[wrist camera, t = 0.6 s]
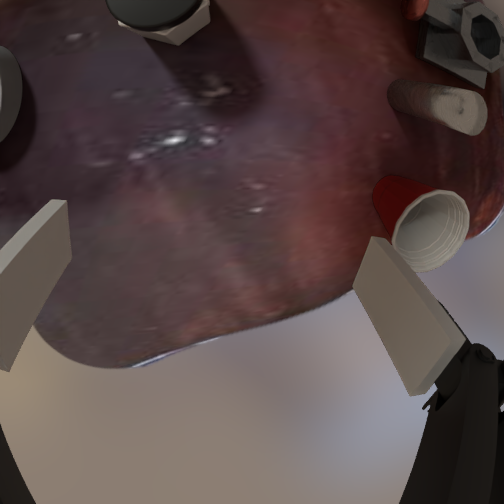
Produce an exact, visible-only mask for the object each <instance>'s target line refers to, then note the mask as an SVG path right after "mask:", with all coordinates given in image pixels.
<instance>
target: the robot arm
mask: <svg viewBox="0 0 504 504" xmlns="http://www.w3.org/2000/svg"><path fill="white" fill-rule="evenodd" d="M71 259H72V252H71V244H70V234H69V223H68V209H67V201H66V200H51V201H49V202H48V203H47V204H46V205H45V206H44V207H43V208H42V209H41V210H40V211H39V212H38V213H37V214H35V215H34V216H33V217H32V218H31V219H30V220H29V221H28V222H27V223H26V224H25V225H24V226H23V227H22V228H21V229H20V230H19V231H18V232H17V233H16V234H15V235H14V236H13V237H12V238H11V239H10V240H9V242H8V243H7V244H6V245H5V246H4V247H3V248H2V249H1V250H0V369H1V370H4V371H7V372H9V371H10V369H11V367H12V365H13V363H14V360H15V358H16V356H17V354H18V352H19V350H20V348H21V346H22V344H23V342H24V340H25V338H26V336H27V334H28V332H29V331H30V329H31V327H32V325H33V323H34V321H35V319H36V317H37V316H38V314H39V312H40V310H41V308H42V307H43V305H44V303H45V301H46V300H47V298H48V296H49V295H50V293H51V291H52V290H53V288H54V286H55V285H56V283H57V281H58V280H59V278H60V276H61V275H62V273H63V272H64V270H65V268H66V267H67V265H68V264H69V262H70V261H71ZM352 287H353V289H354V291H355V292H356V294H357V296H358V298H359V299H360V301H361V303H362V305H363V306H364V308H365V310H366V312H367V314H368V316H369V318H370V319H371V321H372V323H373V325H374V327H375V329H376V331H377V332H378V334H379V336H380V338H381V340H382V342H383V344H384V346H385V348H386V350H387V351H388V354H389V356H390V357H391V359H392V361H393V363H394V365H395V367H396V369H397V371H398V373H399V375H400V377H401V379H402V381H403V383H404V385H405V388H406V390H407V392H408V394H409V396H416V395H421V394H425V393H426V392H427V391H428V390H429V389H430V387H431V386H432V385H433V384H434V383H435V385H436V387H437V388H438V389H437V391H436V392H435V393H434V394H433V395H432V396H431V397H430V399H429V400H428V401H427V402H426V403H425V404H424V406H423V407H422V409H423V410H424V409H425V408H426V407H427V406H428V405H430V409H429V410H428V412H429V413H428V417H427V421H426V425H425V429H424V432H423V436H422V439H421V443H420V446H419V449H418V452H417V456H416V459H415V462H414V465H413V468H412V471H411V473H410V476H409V479H408V482H407V485H406V487H405V490H404V492H403V495H402V497H401V500H400V502H399V504H504V411H503V412H501V409H500V407H501V406H502V405H503V403H504V360H503V361H502V360H497V359H496V357H495V356H494V354H493V353H492V352H491V351H490V350H489V349H488V348H487V347H485V346H484V345H481V344H479V343H474V344H471V343H470V341H469V340H468V338H467V337H466V335H465V334H464V333H463V331H462V330H461V328H460V327H459V326H458V324H457V323H456V322H455V321H454V319H453V318H452V316H451V315H450V314H449V312H448V311H447V310H446V309H445V308H444V306H443V305H442V304H441V303H440V302H439V301H438V300H437V299H436V298H435V297H434V296H433V295H432V293H431V292H430V291H429V289H428V288H427V287H426V286H425V285H424V283H423V282H422V281H421V280H420V278H419V277H418V276H417V275H416V273H415V272H414V271H413V270H412V269H411V267H410V266H409V265H408V264H407V263H406V262H405V260H404V259H403V258H402V257H401V256H400V255H399V253H398V252H397V251H396V250H395V249H394V248H393V246H392V245H391V244H390V243H389V242H388V241H387V240H386V239H385V238H380V237H374V236H371V239H370V242H369V244H368V247H367V250H366V252H365V255H364V258H363V260H362V263H361V265H360V268H359V270H358V273H357V275H356V278H355V280H354V283H353V285H352ZM0 504H36V503H35V501H34V499H33V497H32V495H31V494H30V492H29V490H28V488H27V486H26V484H25V482H24V480H23V477H22V475H21V473H20V471H19V469H18V467H17V465H16V462H15V460H14V458H13V455H12V453H11V451H10V448H9V446H8V443H7V441H6V438H5V436H4V433H3V431H2V428H1V424H0Z"/></svg>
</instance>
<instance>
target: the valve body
mask: <svg viewBox="0 0 504 504" xmlns="http://www.w3.org/2000/svg"><path fill="white" fill-rule="evenodd" d="M401 13H402V15H403V17H404V18H406V19H408V20H411V21H418V20H419V19H421V22H420V29H419V36H418V43H417V50H416V56H415V57H416V58H418V59H421V60H423V61H425V62H427V63H429V64H432V65H434V66H436V67H438V68H440V69H442V70H444V71H446V72H448V73H450V74H452V75H454V76H456V77H457V78H459V79H461V80H463V81H465V82H467V83H468V84H470V85H472V86H474V87H476V88H480V89H484V88H485V82H486V76H487V72H490V73H492V72H494V71H495V70H497V69H498V68H500V67H502V66H503V65H504V29H503V27H502V24H501V22H500V20H499V18H498V16H497V15H496V14H495V13H494V12H492V11H491V10H490V9H488V8H487V7H486V6H484V5H483V4H482V3H480V2H469V3H466V2H465V1H463V0H402V1H401Z"/></svg>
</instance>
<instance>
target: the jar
mask: <svg viewBox="0 0 504 504" xmlns="http://www.w3.org/2000/svg"><path fill="white" fill-rule="evenodd" d="M106 4H107V7H108V9H109V11H110V13H111V14H112V15H113V16H114V17H115V18H116V19H117V20H118V24H119V25H120V26H122V27H124V28H126V29H128V30H130V31H132V32H134V33H136V34H138V35H140V36H142V37H146V38H150V39H154V40H158V41H162V42H166V43H169V44H173V45H177V46H179V45H180V44H182V43H183V42H184V41H185V40H187V39H188V38H189V37H191V36H192V35H193V34H195V33H196V32H197V31H199V30H200V29H201V28H203V27H204V26H205V25H207V24H208V23H210V21H211V19H210V12H209V5H210V1H209V0H106Z"/></svg>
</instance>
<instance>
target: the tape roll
mask: <svg viewBox="0 0 504 504" xmlns="http://www.w3.org/2000/svg"><path fill="white" fill-rule="evenodd" d="M21 99H22V76H21V71H20V68H19V65H18V62H17V60H16V58H15V57H14V55H13V54H12V53H11V52H10V51H9V50H8V49H6V48H5V47H3V46H0V142H1V141H2V140H3V139H4V138H5V137H6V136H7V135H8V133H9V132H10V130H11V129H12V127H13V125H14V123H15V121H16V118H17V116H18V113H19V109H20V105H21Z"/></svg>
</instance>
